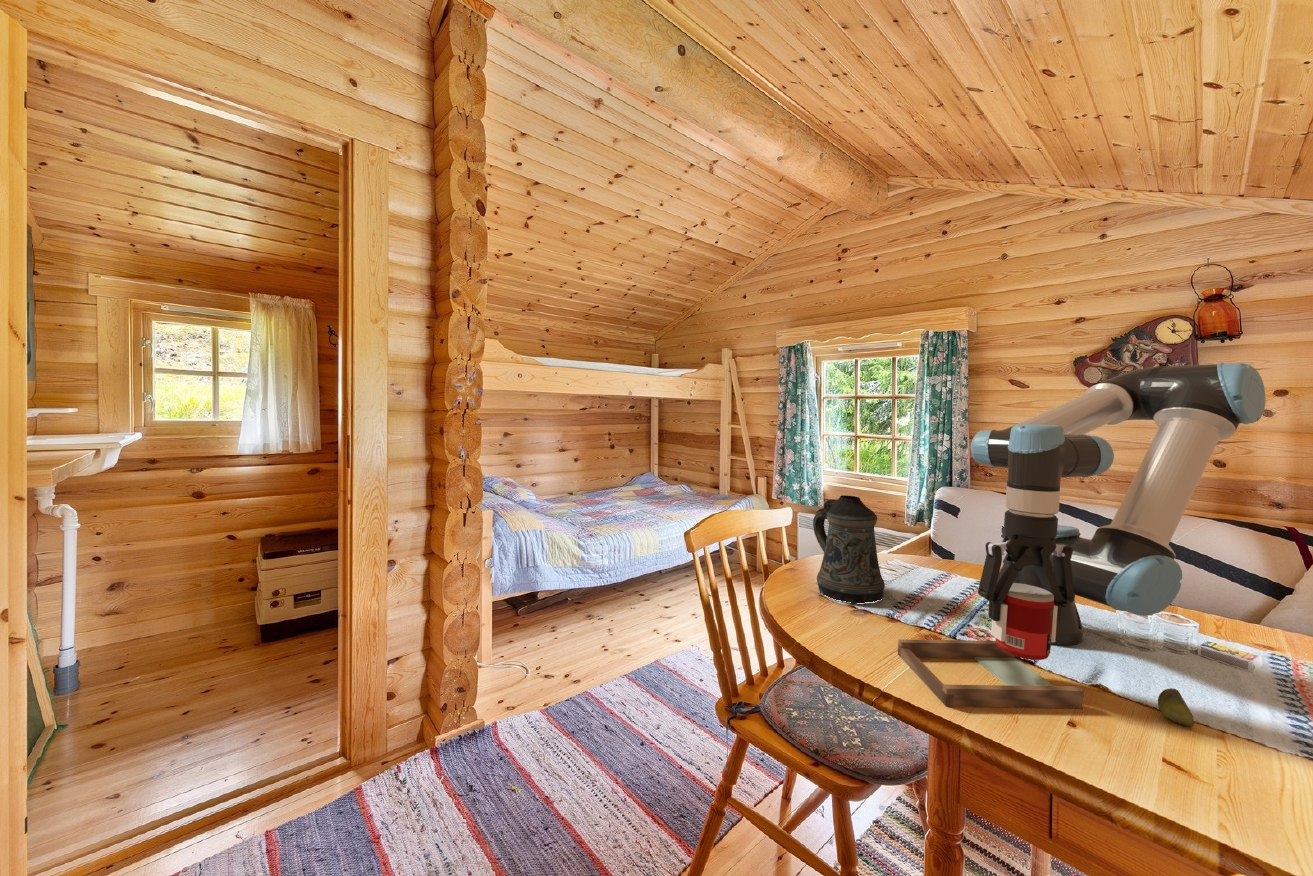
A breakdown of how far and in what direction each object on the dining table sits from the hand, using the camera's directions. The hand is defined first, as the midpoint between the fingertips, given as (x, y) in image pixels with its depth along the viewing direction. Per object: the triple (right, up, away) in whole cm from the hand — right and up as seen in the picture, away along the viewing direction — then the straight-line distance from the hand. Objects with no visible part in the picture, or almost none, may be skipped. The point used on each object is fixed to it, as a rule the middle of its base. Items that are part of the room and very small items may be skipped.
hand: (1022, 638), depth 90 cm
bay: (-7, -8, +1) cm, 10 cm away
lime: (+16, -9, -11) cm, 21 cm away
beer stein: (-16, -5, +42) cm, 46 cm away
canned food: (0, -2, 0) cm, 2 cm away
